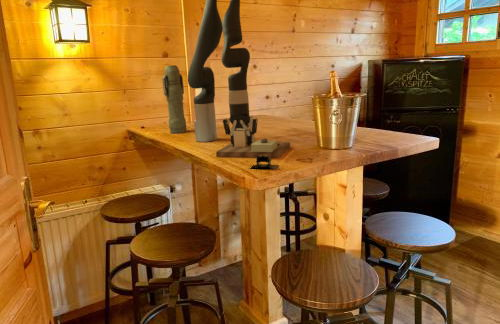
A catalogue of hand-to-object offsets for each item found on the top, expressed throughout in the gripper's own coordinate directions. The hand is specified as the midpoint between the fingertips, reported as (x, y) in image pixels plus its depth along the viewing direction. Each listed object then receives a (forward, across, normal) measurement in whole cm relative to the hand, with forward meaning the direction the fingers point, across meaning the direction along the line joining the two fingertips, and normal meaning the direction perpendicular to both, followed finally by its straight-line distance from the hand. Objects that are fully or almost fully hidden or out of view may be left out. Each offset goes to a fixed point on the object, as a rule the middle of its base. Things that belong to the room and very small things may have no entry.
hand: (241, 144), depth 154 cm
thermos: (+3, +52, -42) cm, 67 cm away
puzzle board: (+3, -6, +2) cm, 7 cm away
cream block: (+2, 0, 0) cm, 2 cm away
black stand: (+3, -16, +23) cm, 28 cm away
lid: (0, -12, +8) cm, 15 cm away
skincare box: (+3, +3, -14) cm, 15 cm away
